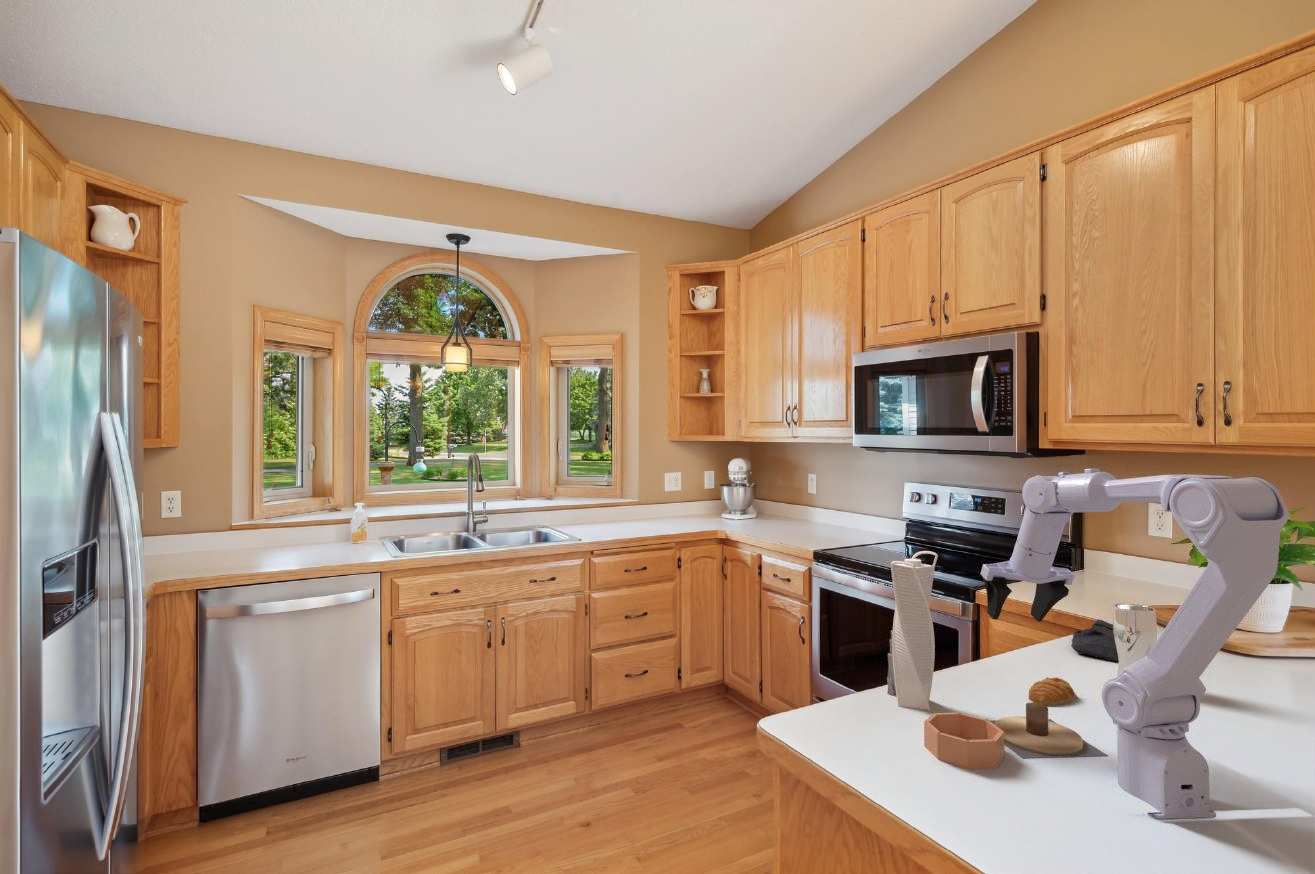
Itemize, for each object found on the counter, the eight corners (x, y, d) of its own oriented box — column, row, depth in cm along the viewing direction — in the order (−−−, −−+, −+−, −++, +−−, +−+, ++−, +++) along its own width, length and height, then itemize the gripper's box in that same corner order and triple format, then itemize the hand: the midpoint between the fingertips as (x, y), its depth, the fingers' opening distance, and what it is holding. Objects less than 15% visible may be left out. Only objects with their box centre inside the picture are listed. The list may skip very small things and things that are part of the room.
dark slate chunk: (1059, 654, 146) (1058, 633, 146) (1076, 634, 162) (1076, 615, 162) (1143, 670, 136) (1143, 647, 136) (1153, 646, 152) (1153, 626, 152)
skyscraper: (935, 701, 118) (934, 548, 119) (942, 719, 111) (940, 555, 111) (886, 697, 121) (885, 546, 121) (889, 714, 113) (888, 553, 113)
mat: (1108, 760, 95) (1108, 755, 95) (1022, 763, 95) (1022, 757, 95) (1050, 723, 108) (1050, 718, 108) (974, 725, 108) (974, 720, 108)
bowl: (1016, 772, 92) (1016, 740, 92) (947, 774, 91) (947, 742, 91) (978, 740, 102) (977, 711, 102) (915, 742, 101) (915, 713, 101)
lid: (1102, 754, 96) (1102, 721, 96) (1023, 756, 95) (1023, 723, 95) (1049, 720, 108) (1048, 691, 108) (978, 721, 107) (978, 692, 107)
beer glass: (1166, 688, 124) (1165, 609, 125) (1142, 693, 122) (1141, 612, 122) (1128, 676, 131) (1127, 601, 131) (1105, 680, 128) (1104, 604, 129)
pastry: (1059, 715, 112) (1059, 693, 112) (1018, 704, 117) (1017, 682, 117) (1079, 702, 118) (1078, 681, 118) (1038, 691, 123) (1038, 671, 123)
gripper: (1063, 536, 109) (1041, 604, 113) (980, 531, 108) (961, 601, 112) (1091, 557, 102) (1066, 629, 107) (1003, 552, 101) (981, 625, 106)
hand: (1014, 616), depth 109 cm, fingers open, 7 cm apart
